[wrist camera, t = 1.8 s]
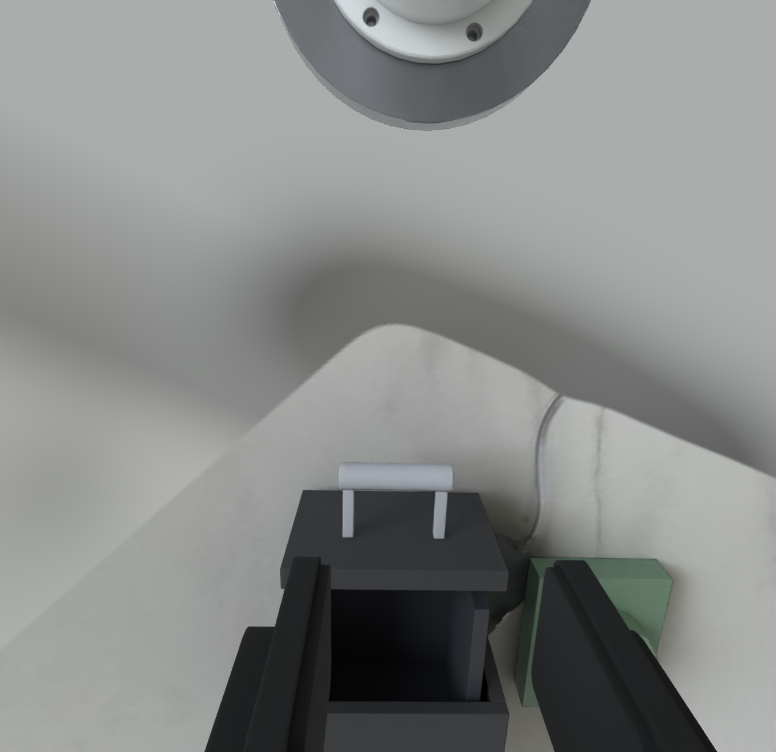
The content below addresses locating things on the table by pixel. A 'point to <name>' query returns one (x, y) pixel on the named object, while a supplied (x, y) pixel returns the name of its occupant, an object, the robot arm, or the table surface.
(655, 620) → the control block
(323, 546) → the drawer
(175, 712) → the table surface
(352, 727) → the dark grey drawer cabinet
